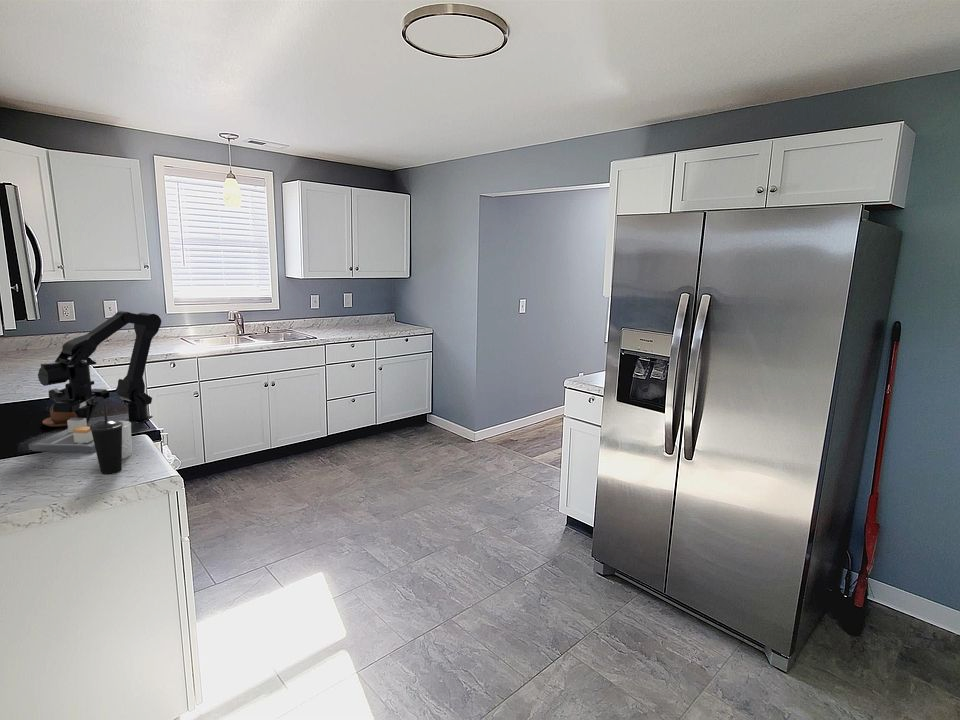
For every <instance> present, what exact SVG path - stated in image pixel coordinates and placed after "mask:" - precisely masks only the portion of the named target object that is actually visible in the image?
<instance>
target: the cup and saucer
mask: <svg viewBox="0 0 960 720" xmlns="http://www.w3.org/2000/svg"><path fill="white" fill-rule="evenodd" d="M49 415H50V416H49V417H47V418H45V419H43V420H42V424H43V425H45V426H48V427H54V428H56V427H57V428H58V427H61V428H62V427H68V424H67V420H70V418H78V417H77V415H76V414H75V412H53V409H52V406H51V407H49Z"/></svg>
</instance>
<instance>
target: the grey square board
mask: <svg viewBox="0 0 960 720" xmlns="http://www.w3.org/2000/svg"><path fill="white" fill-rule="evenodd" d="M90 426H91V425H90ZM90 426H89V425H87V427H90ZM31 450H32V452H47V453H49V452H52V453H54V452H55V453H87V454H90V453H91V454H93V453H96V449H95V444H94V440H92V441H90V442H88V443H76V442H74V436H73V432H68V428H66V429H65V430H62V431H59V432H58V433H55V434H53V435H51V436H49V437H46V438H44V439H41V440H39V441H37V442H35V443H32V444H31Z"/></svg>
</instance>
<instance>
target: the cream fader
mask: <svg viewBox="0 0 960 720" xmlns="http://www.w3.org/2000/svg"><path fill="white" fill-rule="evenodd" d="M67 424H68V426H67V429H68V432H73V429H76V428H78V427H87V426H88V424H87V421H86V418H70V420H67Z"/></svg>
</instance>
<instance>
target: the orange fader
mask: <svg viewBox="0 0 960 720" xmlns="http://www.w3.org/2000/svg"><path fill="white" fill-rule="evenodd" d="M73 436H74V442H76V443H88V442H90V441H92V440H93V436H92V431H91V430H90V427H78V428H76V429H73Z"/></svg>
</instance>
